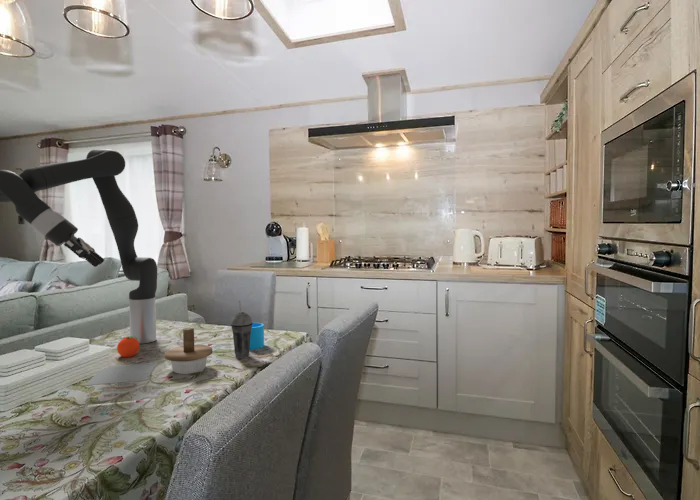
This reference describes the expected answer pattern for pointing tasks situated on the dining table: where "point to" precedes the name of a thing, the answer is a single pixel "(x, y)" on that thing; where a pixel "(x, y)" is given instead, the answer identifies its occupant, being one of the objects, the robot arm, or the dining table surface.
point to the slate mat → (122, 374)
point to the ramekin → (189, 366)
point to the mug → (257, 336)
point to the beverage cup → (241, 333)
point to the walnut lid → (188, 349)
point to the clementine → (128, 347)
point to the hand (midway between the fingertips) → (100, 263)
